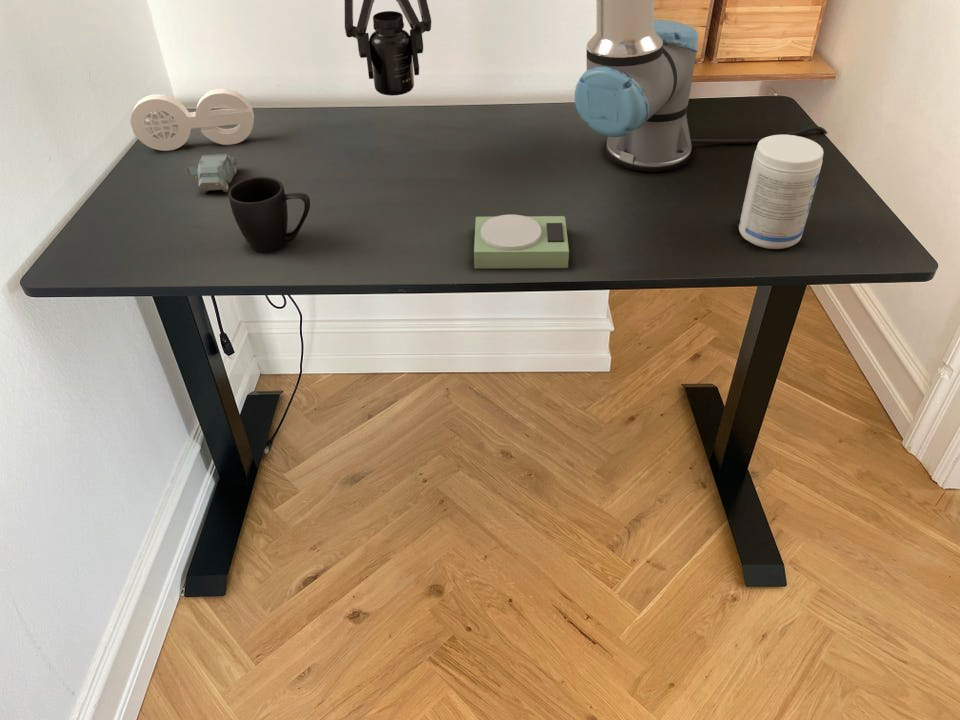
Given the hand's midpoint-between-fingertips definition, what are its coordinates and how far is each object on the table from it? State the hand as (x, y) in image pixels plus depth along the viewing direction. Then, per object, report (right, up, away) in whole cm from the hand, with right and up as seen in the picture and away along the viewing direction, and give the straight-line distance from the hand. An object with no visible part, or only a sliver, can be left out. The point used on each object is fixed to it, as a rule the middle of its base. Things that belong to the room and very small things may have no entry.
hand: (393, 73), depth 128 cm
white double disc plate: (-40, -6, +23) cm, 46 cm away
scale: (+20, -30, -7) cm, 37 cm away
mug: (-18, -29, -4) cm, 34 cm away
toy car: (-33, -16, +11) cm, 38 cm away
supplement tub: (+59, -27, -5) cm, 66 cm away
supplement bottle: (0, -1, +5) cm, 6 cm away
